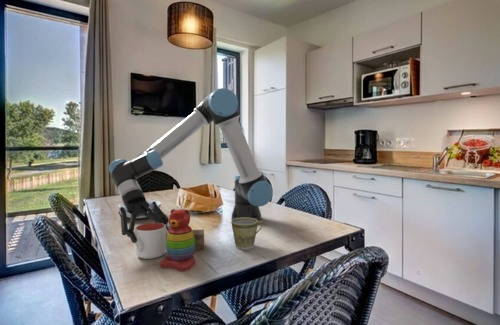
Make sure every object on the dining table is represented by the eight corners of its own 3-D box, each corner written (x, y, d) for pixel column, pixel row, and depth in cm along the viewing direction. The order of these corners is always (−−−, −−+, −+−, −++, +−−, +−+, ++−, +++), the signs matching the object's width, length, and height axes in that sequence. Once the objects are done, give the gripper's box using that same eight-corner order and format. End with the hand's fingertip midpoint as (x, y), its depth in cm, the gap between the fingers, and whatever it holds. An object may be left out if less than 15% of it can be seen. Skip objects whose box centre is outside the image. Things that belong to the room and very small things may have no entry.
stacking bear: (156, 267, 93) (155, 211, 92) (175, 255, 102) (174, 205, 101) (185, 272, 89) (184, 215, 88) (202, 259, 99) (201, 207, 97)
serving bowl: (133, 224, 139) (133, 210, 139) (111, 217, 152) (110, 204, 152) (169, 215, 156) (169, 202, 155) (146, 210, 169) (146, 198, 168)
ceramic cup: (237, 253, 104) (237, 226, 103) (227, 244, 113) (227, 219, 112) (269, 248, 109) (269, 221, 108) (258, 239, 118) (258, 215, 117)
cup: (149, 262, 96) (148, 232, 95) (130, 256, 101) (129, 228, 101) (172, 252, 105) (171, 225, 104) (153, 247, 110) (152, 221, 109)
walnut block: (204, 244, 113) (203, 229, 112) (204, 250, 107) (203, 234, 107) (188, 245, 112) (187, 230, 112) (187, 251, 106) (187, 235, 106)
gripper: (155, 196, 120) (178, 242, 111) (97, 205, 103) (120, 261, 94) (162, 184, 116) (187, 231, 107) (103, 192, 99) (127, 248, 90)
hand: (156, 245), depth 101 cm, fingers closed on cup, 10 cm apart
